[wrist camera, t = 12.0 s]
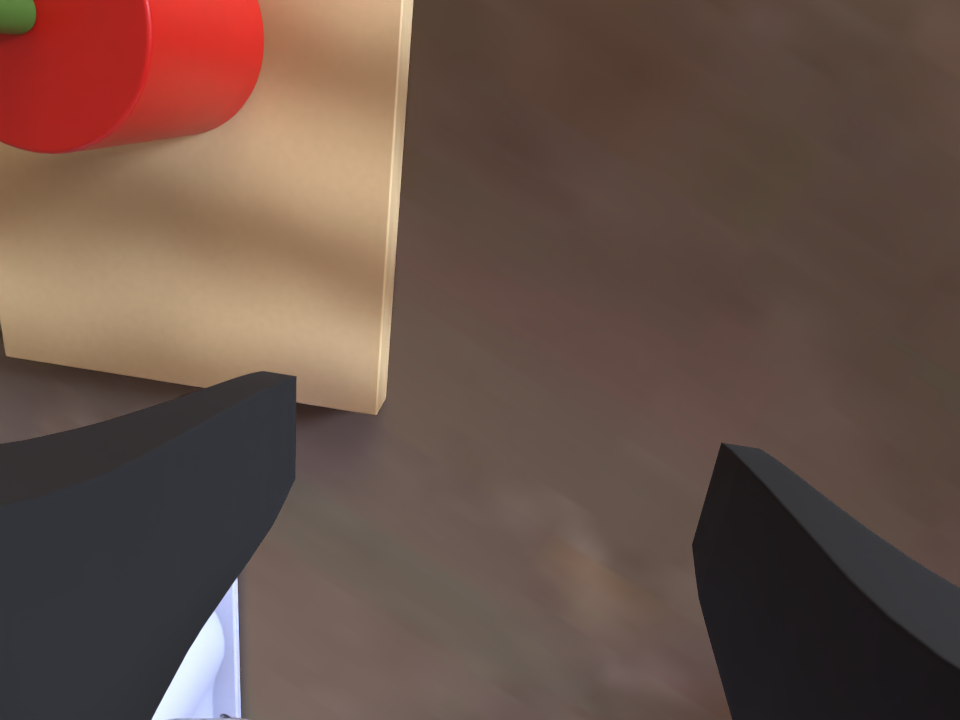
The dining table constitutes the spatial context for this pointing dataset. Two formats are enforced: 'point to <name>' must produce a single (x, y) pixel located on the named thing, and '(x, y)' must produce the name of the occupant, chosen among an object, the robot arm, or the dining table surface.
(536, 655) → the dining table surface
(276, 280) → the cutting board
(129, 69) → the pepper
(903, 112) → the dining table surface
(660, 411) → the dining table surface
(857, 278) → the dining table surface
